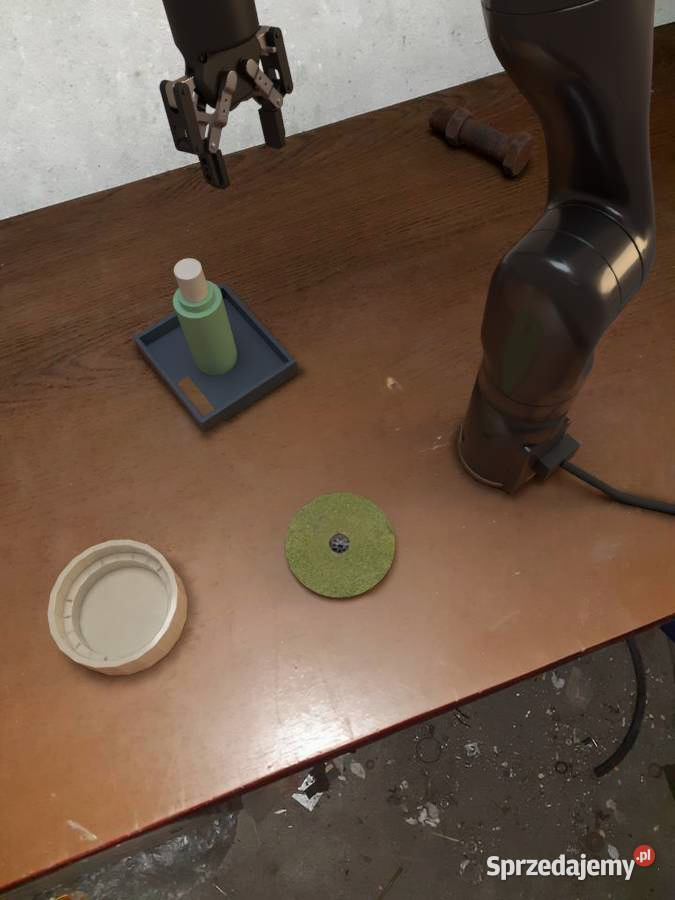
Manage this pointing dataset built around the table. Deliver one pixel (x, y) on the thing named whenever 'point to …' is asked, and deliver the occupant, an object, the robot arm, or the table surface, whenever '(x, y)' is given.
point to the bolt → (483, 138)
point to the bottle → (203, 319)
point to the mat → (340, 545)
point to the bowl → (117, 607)
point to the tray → (229, 392)
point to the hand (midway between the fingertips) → (249, 166)
